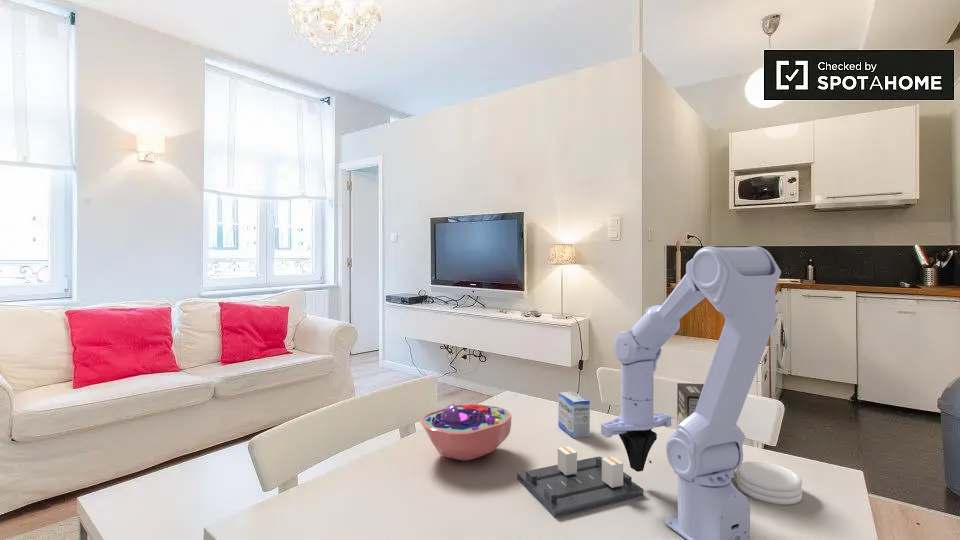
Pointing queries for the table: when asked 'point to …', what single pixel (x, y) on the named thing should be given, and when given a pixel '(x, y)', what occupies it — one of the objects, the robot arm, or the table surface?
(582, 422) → the medicine box
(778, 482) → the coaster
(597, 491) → the console
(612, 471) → the near fader
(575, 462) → the far fader
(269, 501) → the table surface
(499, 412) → the cell model
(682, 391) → the coffee box
